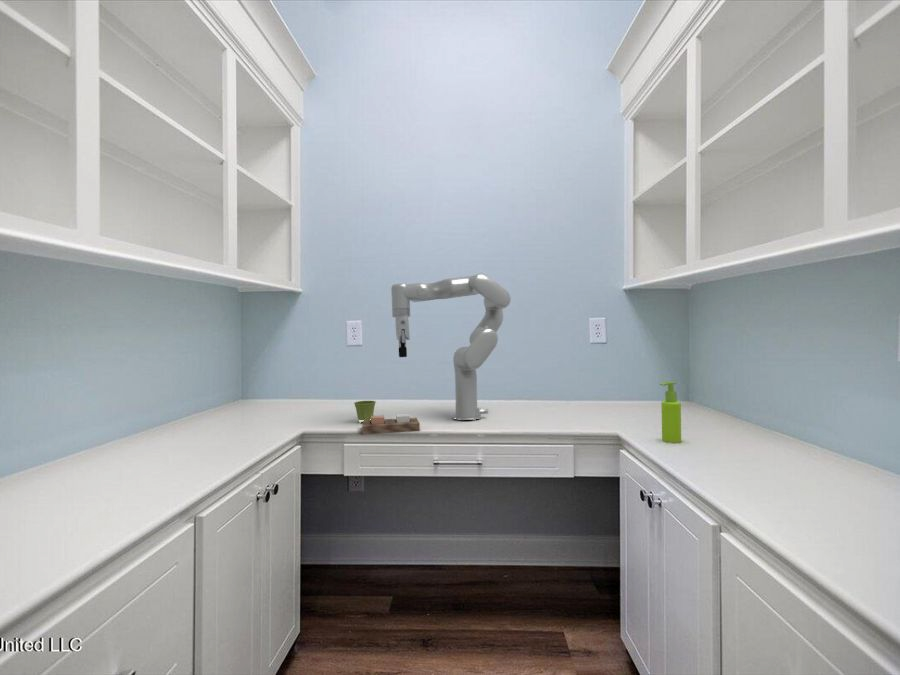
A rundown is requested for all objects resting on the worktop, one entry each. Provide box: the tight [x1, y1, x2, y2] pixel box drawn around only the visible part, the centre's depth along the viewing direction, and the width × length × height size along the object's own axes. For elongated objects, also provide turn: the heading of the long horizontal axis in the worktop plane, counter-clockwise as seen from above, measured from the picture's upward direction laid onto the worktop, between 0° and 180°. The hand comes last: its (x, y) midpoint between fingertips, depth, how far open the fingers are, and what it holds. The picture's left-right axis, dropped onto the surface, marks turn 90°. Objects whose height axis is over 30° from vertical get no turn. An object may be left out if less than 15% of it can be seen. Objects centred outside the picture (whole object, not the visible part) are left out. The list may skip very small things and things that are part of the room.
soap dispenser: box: [659, 381, 682, 444], centre depth 155 cm, size 6×7×20 cm
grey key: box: [395, 413, 411, 423], centre depth 184 cm, size 5×5×4 cm
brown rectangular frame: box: [361, 417, 421, 435], centre depth 183 cm, size 22×12×3 cm, turn 100°
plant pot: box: [353, 400, 377, 420], centre depth 199 cm, size 9×9×9 cm
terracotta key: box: [371, 414, 385, 424], centre depth 182 cm, size 5×5×4 cm
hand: (402, 356), depth 193 cm, fingers closed
